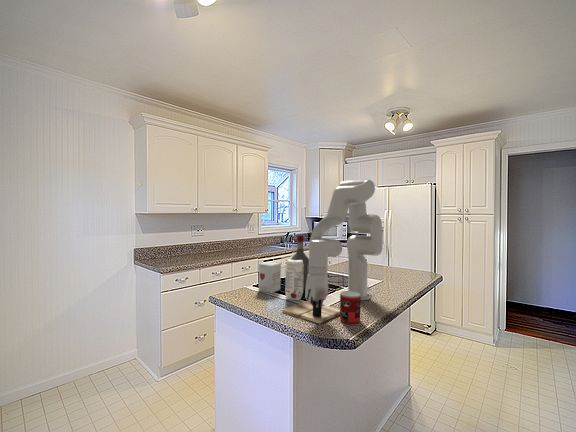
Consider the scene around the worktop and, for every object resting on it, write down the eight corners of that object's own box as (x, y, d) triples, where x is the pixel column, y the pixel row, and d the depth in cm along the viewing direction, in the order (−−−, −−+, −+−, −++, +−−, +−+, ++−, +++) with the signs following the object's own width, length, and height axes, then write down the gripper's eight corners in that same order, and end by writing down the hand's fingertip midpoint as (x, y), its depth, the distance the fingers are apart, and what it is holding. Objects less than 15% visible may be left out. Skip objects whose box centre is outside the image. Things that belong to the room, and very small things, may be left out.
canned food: (337, 317, 120) (338, 291, 119) (356, 317, 120) (357, 290, 120) (342, 324, 112) (343, 296, 112) (363, 324, 113) (363, 296, 112)
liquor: (304, 285, 170) (304, 234, 169) (310, 289, 161) (311, 236, 161) (289, 286, 167) (290, 234, 167) (294, 291, 158) (295, 236, 158)
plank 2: (325, 307, 131) (325, 305, 131) (343, 312, 125) (343, 310, 125) (314, 312, 125) (314, 309, 125) (332, 317, 119) (332, 314, 119)
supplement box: (258, 291, 158) (258, 263, 158) (267, 287, 165) (267, 261, 165) (271, 293, 153) (272, 265, 153) (280, 289, 161) (281, 262, 160)
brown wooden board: (308, 302, 138) (308, 300, 138) (324, 307, 132) (324, 304, 132) (282, 312, 125) (282, 309, 125) (299, 318, 119) (299, 315, 119)
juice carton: (301, 300, 141) (302, 262, 141) (284, 299, 143) (284, 261, 142) (303, 296, 148) (304, 259, 148) (287, 295, 150) (287, 258, 150)
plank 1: (313, 312, 124) (313, 310, 124) (331, 317, 118) (331, 314, 118) (300, 318, 118) (300, 314, 118) (319, 323, 112) (319, 320, 112)
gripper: (321, 267, 125) (320, 309, 125) (299, 271, 114) (297, 318, 114) (336, 269, 120) (335, 314, 120) (314, 274, 109) (313, 323, 109)
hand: (316, 316), depth 117 cm, fingers closed
